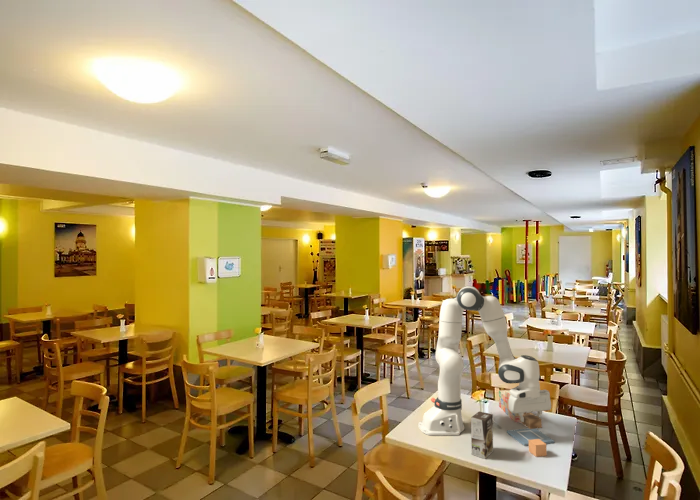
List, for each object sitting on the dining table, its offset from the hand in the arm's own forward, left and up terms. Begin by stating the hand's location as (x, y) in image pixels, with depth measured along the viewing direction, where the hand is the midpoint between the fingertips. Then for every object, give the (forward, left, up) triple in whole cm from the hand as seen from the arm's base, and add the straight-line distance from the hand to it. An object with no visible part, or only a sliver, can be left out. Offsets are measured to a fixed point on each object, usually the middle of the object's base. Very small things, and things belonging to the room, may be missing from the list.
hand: (530, 420), depth 188 cm
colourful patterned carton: (+8, +27, -8) cm, 29 cm away
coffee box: (-29, -9, -8) cm, 32 cm away
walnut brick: (0, 0, -2) cm, 2 cm away
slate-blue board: (0, 0, -8) cm, 8 cm away
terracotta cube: (-6, -14, -8) cm, 17 cm away
